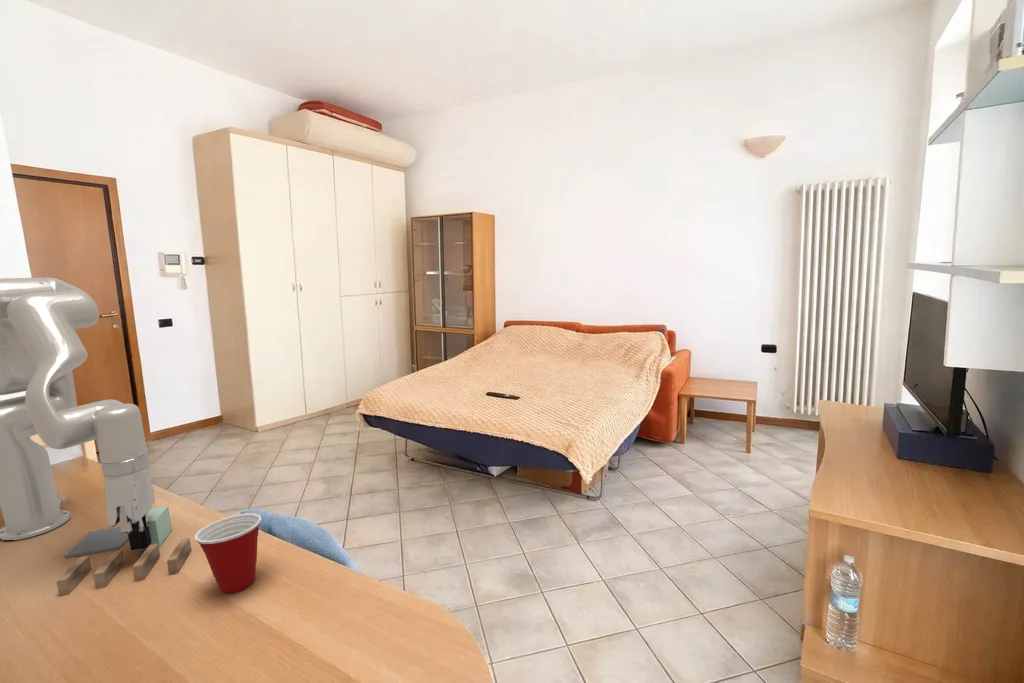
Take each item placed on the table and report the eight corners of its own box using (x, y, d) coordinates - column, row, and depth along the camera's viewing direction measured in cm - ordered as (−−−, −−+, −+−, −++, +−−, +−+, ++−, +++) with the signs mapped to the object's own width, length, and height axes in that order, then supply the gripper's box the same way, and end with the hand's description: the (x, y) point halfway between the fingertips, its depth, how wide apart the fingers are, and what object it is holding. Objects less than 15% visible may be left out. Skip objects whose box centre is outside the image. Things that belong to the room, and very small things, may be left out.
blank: (152, 533, 112) (147, 509, 111) (172, 530, 113) (168, 505, 112) (138, 550, 105) (133, 524, 104) (159, 546, 106) (155, 520, 106)
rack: (82, 570, 99) (80, 557, 98) (191, 550, 104) (189, 537, 104) (59, 595, 91) (56, 581, 91) (177, 572, 97) (175, 559, 96)
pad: (90, 533, 113) (89, 531, 113) (140, 525, 116) (140, 523, 116) (65, 558, 104) (64, 555, 104) (120, 548, 107) (120, 546, 106)
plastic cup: (258, 559, 100) (250, 504, 98) (277, 581, 92) (269, 522, 90) (197, 585, 93) (187, 526, 91) (212, 612, 85) (202, 548, 83)
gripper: (121, 454, 106) (136, 532, 109) (84, 483, 92) (102, 572, 95) (161, 449, 108) (175, 526, 111) (131, 476, 94) (147, 563, 97)
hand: (141, 547), depth 103 cm, fingers closed
